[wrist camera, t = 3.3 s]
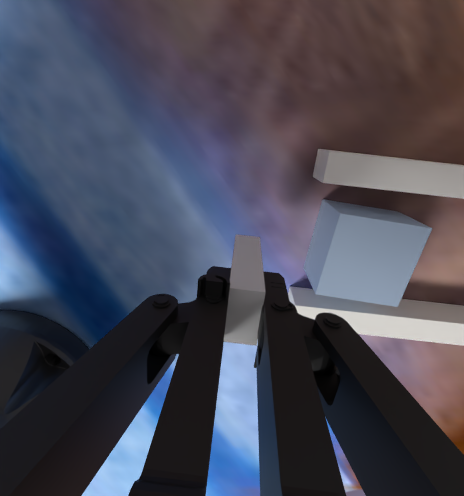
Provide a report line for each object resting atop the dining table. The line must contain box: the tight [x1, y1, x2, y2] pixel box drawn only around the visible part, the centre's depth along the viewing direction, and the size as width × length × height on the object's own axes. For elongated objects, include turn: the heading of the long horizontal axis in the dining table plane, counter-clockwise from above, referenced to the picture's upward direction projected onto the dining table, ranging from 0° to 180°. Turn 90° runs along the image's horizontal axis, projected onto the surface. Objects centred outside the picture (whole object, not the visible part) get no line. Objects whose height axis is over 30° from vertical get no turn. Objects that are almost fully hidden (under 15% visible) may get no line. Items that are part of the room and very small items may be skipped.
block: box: [304, 199, 432, 307], centre depth 21 cm, size 6×6×4 cm
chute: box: [288, 149, 464, 345], centre depth 22 cm, size 16×14×3 cm
